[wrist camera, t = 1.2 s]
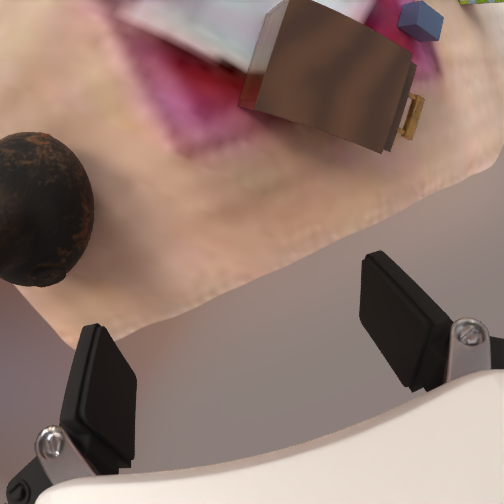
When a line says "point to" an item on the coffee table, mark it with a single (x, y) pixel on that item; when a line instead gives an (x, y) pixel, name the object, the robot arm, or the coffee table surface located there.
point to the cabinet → (326, 73)
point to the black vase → (41, 209)
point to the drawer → (412, 113)
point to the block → (420, 21)
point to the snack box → (479, 1)
